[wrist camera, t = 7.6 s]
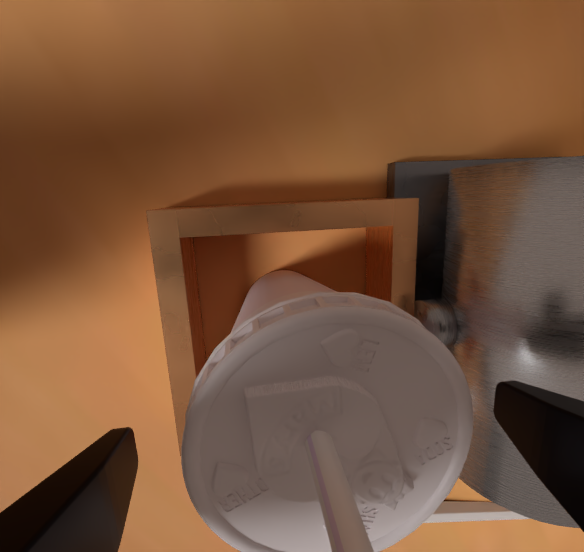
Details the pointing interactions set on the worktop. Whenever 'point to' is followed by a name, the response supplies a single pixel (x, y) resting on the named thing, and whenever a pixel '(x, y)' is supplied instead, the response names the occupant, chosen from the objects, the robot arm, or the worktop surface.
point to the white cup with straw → (323, 422)
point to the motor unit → (433, 286)
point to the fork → (471, 512)
